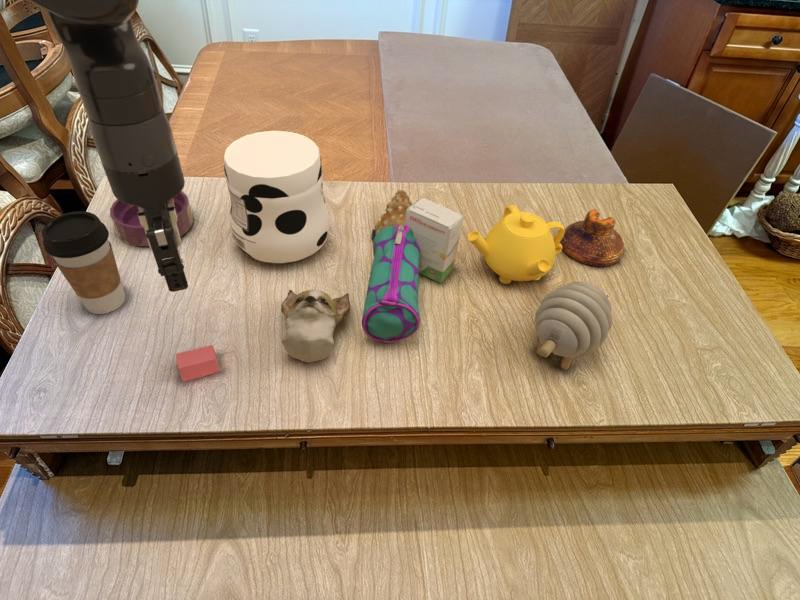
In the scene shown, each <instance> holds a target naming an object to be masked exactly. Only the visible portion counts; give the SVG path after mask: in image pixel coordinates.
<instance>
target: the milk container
mask: <svg viewBox="0 0 800 600" xmlns="http://www.w3.org/2000/svg"><path fill="white" fill-rule="evenodd" d="M321 156H322V155H321V150H320V148H319V146H318V145H317V144H316V143H315V142H314V140H312V139H310V138H309V137H307V136H306V135H303V134H301V133H296V132H292V131H286V130H265V131H257V132H254V133H249V134H246V135H243V136H242V137H239V138H238V139H236V140H233V141H232V142H231V143H230V144H229V145H228V146H227V148H225V150H224V156H223V170H224V175H225V179H226V186H227V190H228V194H229V198H230V211H229V227H230V231H231V235H232V237H233V240H234V242H235V243H236V245H237V247H238V249H239V250H240V251H241V252H242V253H243V254H245V255H246V256H247V257H249V258H250V259H253V260H254V261H257V262H260V263H263V264H271V265H272V264H274V265H285V264H292V263H297V262H300V261H304V260H305V259H308V258H310V257H312V256H313V255H316V254H317V253H318V252H319V251H320V250H321V249H322V248H323V247H324V245H325V244H326V242H327V240H328V237H329V233H330V228H331V216H330V215H331V214H330V209H329V207H328V204H327V201H326V199H325V196H324V175H323V170H322V169H323V168H322V157H321Z"/></svg>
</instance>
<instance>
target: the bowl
mask: <svg viewBox="0 0 800 600" xmlns="http://www.w3.org/2000/svg"><path fill="white" fill-rule="evenodd" d="M173 201H174V205H175V211H176V214H177V221H176V223H177V227H178V231H179V235H180V238H181V237H182V236H184V235H186V234H187V233H188V231H189V230H190V229H191V228H192V226H193V223H194V216H193V213H192V208H191V205H190V200H189V197H188V195H187V194H186V193H185V192H184V191H183V190H182V191H181V192H180V193H179V194H178V195H177V196H176V197H174V198H173ZM138 212H139V210H138V207H137V206H134V205H128V204H125V203H123V202H121V201H119V200H118V199H117V198H116V199H115V201H114V202H113V203H112V205H111V206H110V208H109V216H110V218H111V221H112V224H113V226H114V229H115V231H116V234H117V235H118V237H119V239H121V240H122V241H123V242H126V243H127V244H129V245H133V246H138V247H149V244H148V241H147V237H146V233H145V230H144V227H143V226H141V224H140V221H139V217H138Z"/></svg>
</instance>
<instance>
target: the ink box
mask: <svg viewBox="0 0 800 600" xmlns="http://www.w3.org/2000/svg"><path fill="white" fill-rule="evenodd" d="M464 218H465V215H463V214H461V213H459V212H456V211H454V210H452V209H450V208H447V207H445V206H442V205H440V204H438V203H436V202H433V201H431V200H429V199H427V198H425V197H420V198H418V199H417V200H416V201H415V202H412V205H411V206H409V207H408V208H407V210H406V218H405V225H407V226H408V227H410V228H411V229H412V231H413V234H414V237H415V239H416V242H417V244H418V246H419V248H420V253H421V254H420V266H419V275H421V276H424V277H425V278H428V279H430V280H432V281H434V282H437V283H439V284H441V283H443V282H444V281H445V279H446V278H447V277H448V276H449V275H450V274H451V272H452V271H453V269H454V266H455V262H456V261H455V260H456V256H457V251H458V247H459V242H460V237H461V233H462V228H463V224H464Z"/></svg>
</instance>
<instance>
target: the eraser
mask: <svg viewBox="0 0 800 600" xmlns="http://www.w3.org/2000/svg"><path fill="white" fill-rule="evenodd" d="M175 359H176V366H177V370H178V372H179V376H180V378H181V380H182V382H188V381H191V380H194V379H199V378H202V377H206V376H210V375H213V374H217V373H218V374H219V373H220V368H219V363H218V359H217V355H216V352H215V348H214V345H213V344H209V345H205V346H202V347H198V348H194V349H189V350H186V351H182V352H178V353H176V354H175Z"/></svg>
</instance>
